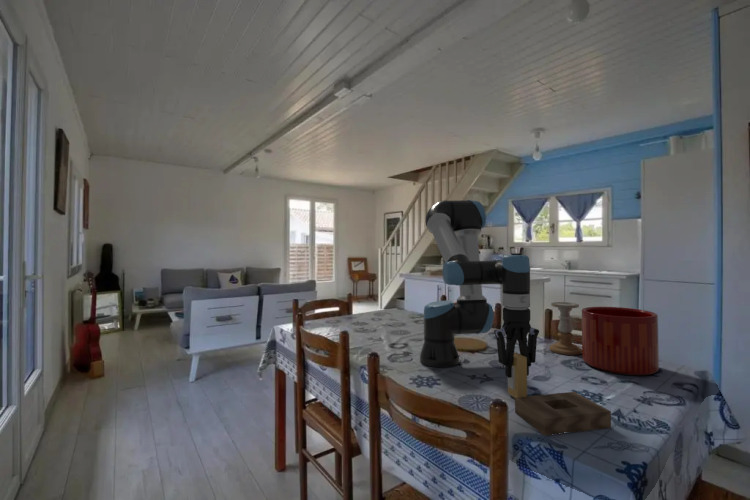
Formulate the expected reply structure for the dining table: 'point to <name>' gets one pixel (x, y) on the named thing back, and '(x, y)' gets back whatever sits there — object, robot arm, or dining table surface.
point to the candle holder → (565, 330)
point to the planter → (620, 340)
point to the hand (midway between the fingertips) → (517, 387)
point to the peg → (519, 376)
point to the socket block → (562, 413)
